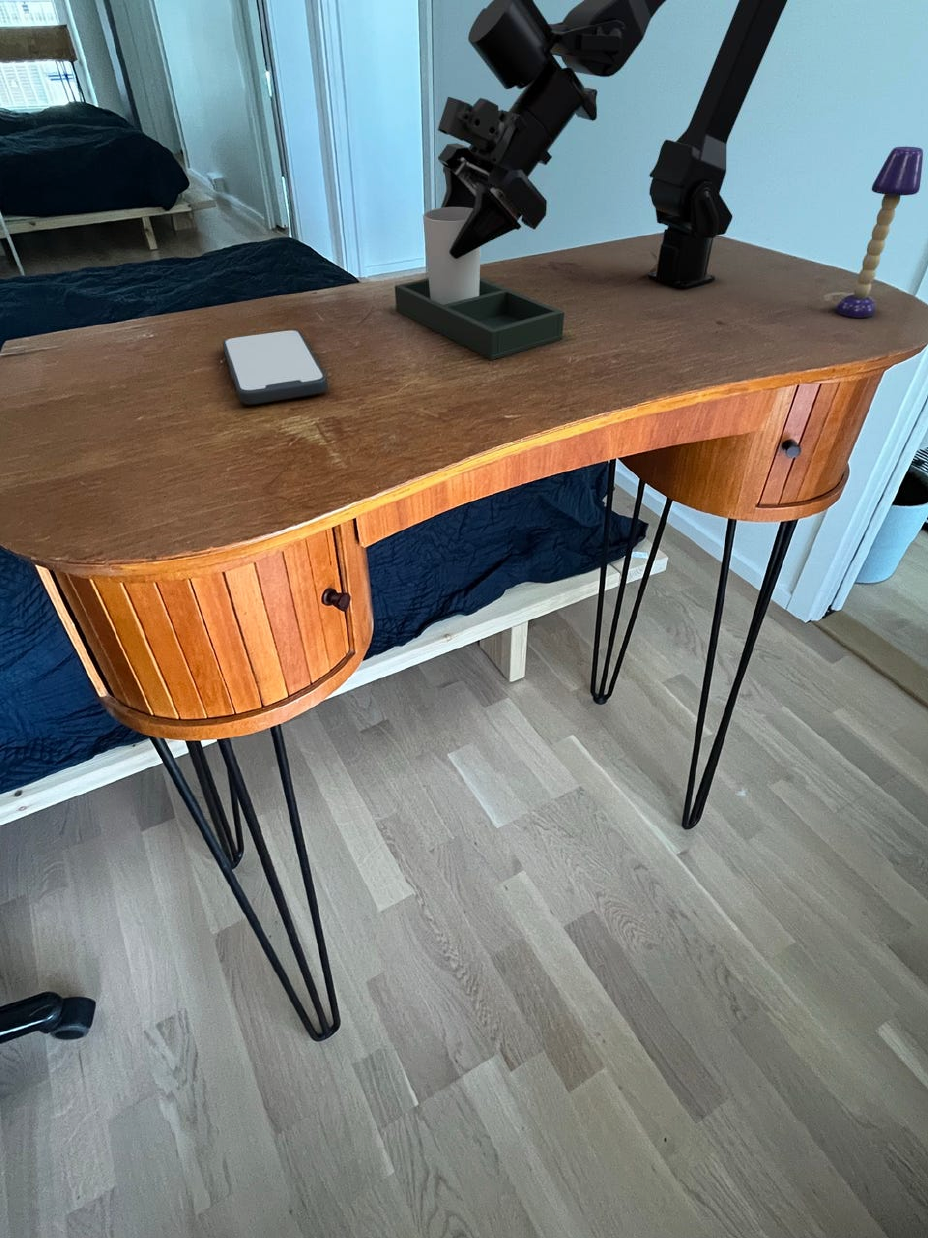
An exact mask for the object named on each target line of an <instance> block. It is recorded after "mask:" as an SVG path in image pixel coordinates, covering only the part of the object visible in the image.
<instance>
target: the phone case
mask: <svg viewBox="0 0 928 1238" xmlns="http://www.w3.org/2000/svg"><path fill="white" fill-rule="evenodd" d="M222 349H223V353H224V356H225V359H226V362H227V365H228V368H229V374H230V378H231V381H232V383H233V384H234V387H235V390H236V393H237V397H238V399H239V401H240V403H242V404H245V405H249V406H251V405H259V404H265V403H266V404H267V403H271V402H278V401H283V400H290V399H297V398H302V397H309V396H315V395H321V394H323V393H325V392H326V391H328V389H329V383H328V376H327V375H326V373H325V371H324V370H323V368H322V366H321V365H320V362H319V360H318V359H317V358H316V356H315V355H314V352H313V351H312V350H311V348H310V345H309V344H308V343H307V341H306V339H305V337H304V335H303V333H301V331H299V330H297V329H286V330H279V331H272V332H264V333H258V334H251V335H242V336H235V337H229V338H227V339H224V341H222Z"/></svg>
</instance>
